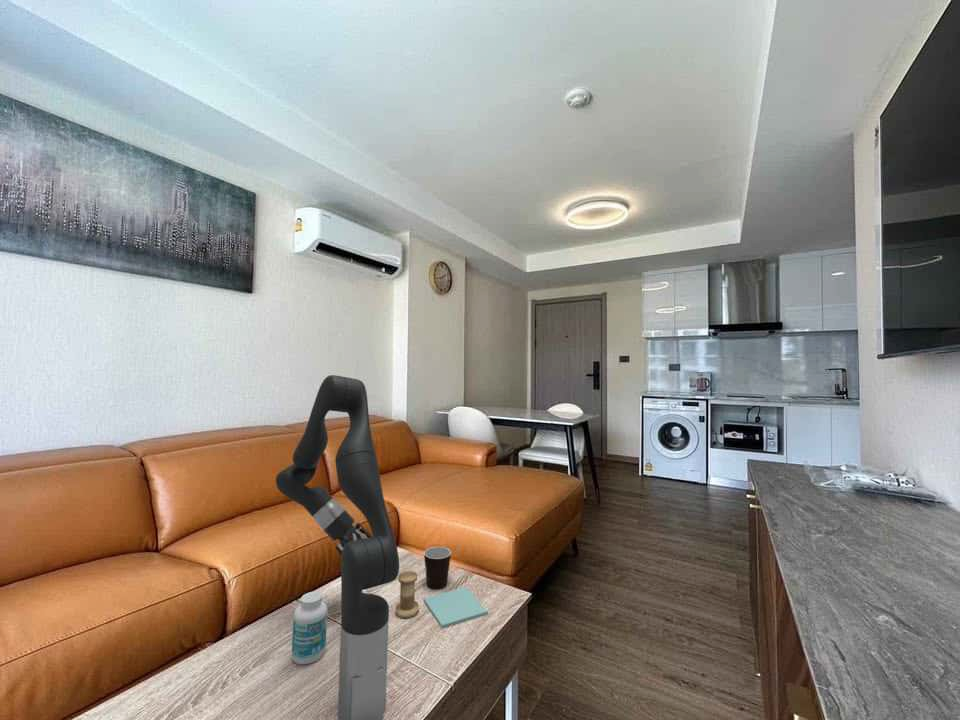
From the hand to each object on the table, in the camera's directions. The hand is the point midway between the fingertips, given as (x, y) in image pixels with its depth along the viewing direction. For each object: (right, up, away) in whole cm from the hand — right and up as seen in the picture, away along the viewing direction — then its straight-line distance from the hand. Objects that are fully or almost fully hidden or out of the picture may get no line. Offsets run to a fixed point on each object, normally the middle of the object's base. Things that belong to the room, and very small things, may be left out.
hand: (372, 561), depth 111 cm
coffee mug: (+17, -15, +15) cm, 28 cm away
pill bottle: (-10, -13, -18) cm, 25 cm away
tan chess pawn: (+10, -14, -1) cm, 17 cm away
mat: (+23, -14, +2) cm, 28 cm away
